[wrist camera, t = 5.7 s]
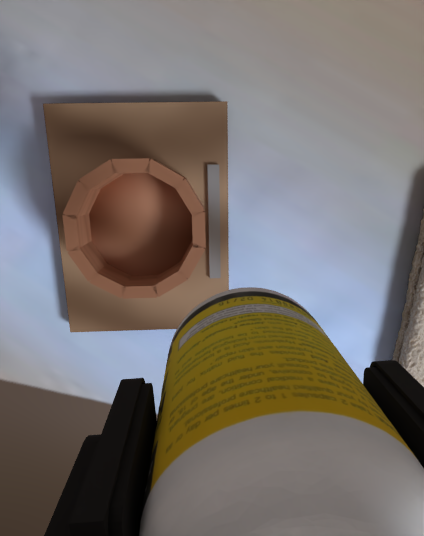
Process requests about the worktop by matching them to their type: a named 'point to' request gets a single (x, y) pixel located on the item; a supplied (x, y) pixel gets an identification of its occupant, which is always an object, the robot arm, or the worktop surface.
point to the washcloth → (413, 318)
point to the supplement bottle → (272, 432)
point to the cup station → (139, 210)
